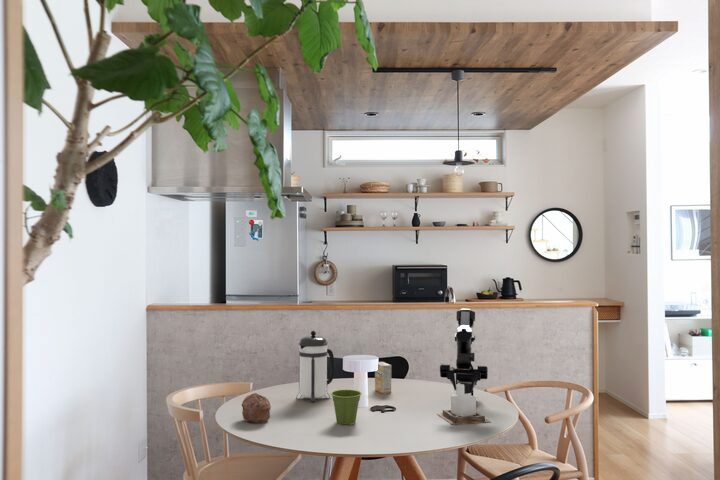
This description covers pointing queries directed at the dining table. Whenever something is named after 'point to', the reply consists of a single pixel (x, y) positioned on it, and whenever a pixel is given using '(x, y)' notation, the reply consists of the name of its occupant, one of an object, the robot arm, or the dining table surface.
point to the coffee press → (314, 367)
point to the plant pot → (346, 405)
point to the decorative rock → (256, 408)
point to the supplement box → (383, 378)
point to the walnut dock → (462, 418)
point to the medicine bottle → (463, 401)
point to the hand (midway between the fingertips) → (463, 390)
